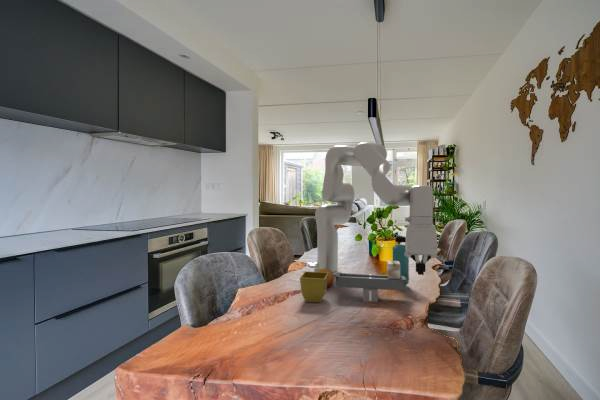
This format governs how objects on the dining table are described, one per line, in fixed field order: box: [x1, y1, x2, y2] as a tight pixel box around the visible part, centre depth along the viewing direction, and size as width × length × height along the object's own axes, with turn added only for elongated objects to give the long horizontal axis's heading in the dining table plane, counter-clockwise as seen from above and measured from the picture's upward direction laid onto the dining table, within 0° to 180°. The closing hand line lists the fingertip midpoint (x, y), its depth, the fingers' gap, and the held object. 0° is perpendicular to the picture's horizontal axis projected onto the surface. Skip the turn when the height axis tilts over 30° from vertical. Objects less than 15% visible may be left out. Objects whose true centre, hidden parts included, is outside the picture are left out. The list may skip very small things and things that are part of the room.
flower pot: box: [299, 271, 328, 304], centre depth 120 cm, size 9×9×9 cm
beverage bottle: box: [392, 235, 410, 286], centre depth 137 cm, size 6×7×20 cm
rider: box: [386, 260, 400, 279], centre depth 121 cm, size 4×6×7 cm
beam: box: [335, 272, 407, 303], centre depth 123 cm, size 24×9×8 cm, turn 79°
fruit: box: [316, 269, 335, 288], centre depth 138 cm, size 8×8×8 cm
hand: (420, 273), depth 120 cm, fingers closed
